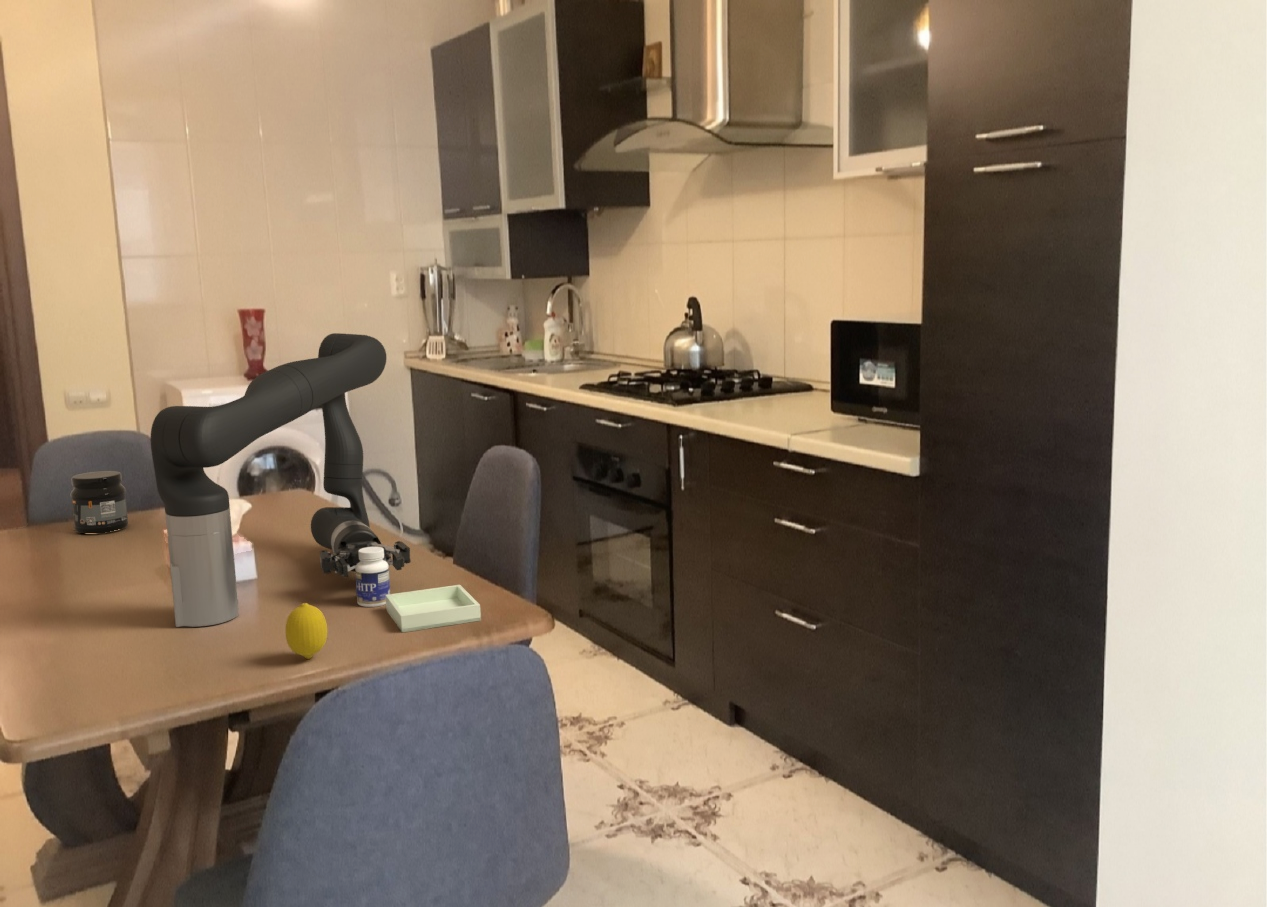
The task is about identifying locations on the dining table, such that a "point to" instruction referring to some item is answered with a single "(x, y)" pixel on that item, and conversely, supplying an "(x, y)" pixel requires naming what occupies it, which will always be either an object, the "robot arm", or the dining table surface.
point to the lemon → (306, 630)
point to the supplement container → (98, 502)
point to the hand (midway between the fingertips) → (372, 567)
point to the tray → (432, 608)
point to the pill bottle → (372, 577)
